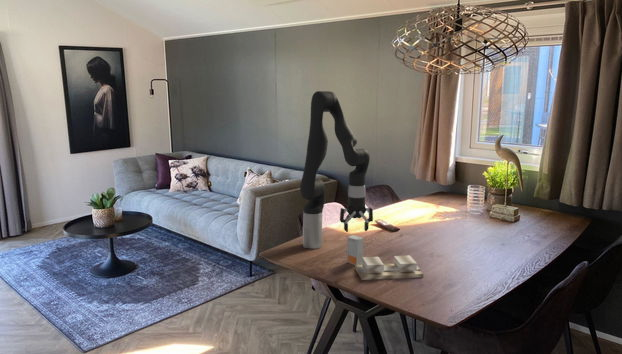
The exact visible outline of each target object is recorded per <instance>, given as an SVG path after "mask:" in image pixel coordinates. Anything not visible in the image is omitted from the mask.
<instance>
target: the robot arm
mask: <svg viewBox="0 0 622 354" xmlns="http://www.w3.org/2000/svg"><path fill="white" fill-rule="evenodd" d="M324 113H329V114H330V115H331V117H332V118H333V120H334V134H335V137H336V138H337V140H338V142H339V144H340V146H341V149H342V153H343V157H344V160H345V162H346V164H347V165H348V166H350V167H355V168H354V169H353V170H351V171H350V172H349V174H348V188H347V208H343V207H341V208H340V212H339V221H340V223H342V224H343V230H344V231H345V232H346V233H349V223H350V222H349V221H351V220H352V219H363V220H364V225H363V227H364V228H363V229H364V231H365V232H368V230H369V223H371V222H374V213H373V212H374V211H373V208H372V207H371V206H368V207H366V195H367V193H366V190H367V189H366V175H367V172H368V168H369V164H370V154H369V151H368V150H367V149H365V148H356V149H355V146H356V145H357V143H358V140H357V138H356V135H355V134H354V133H353V131H352V130H351V127H350V126H349V124H348V121H347V119H346V116H345V114H344V111H343V109H342V105H341V103H340V100H339V98H338V96H337V94H336V92H335V93H334V92H333V91H329V90H328V91H326V90H323V91H322V90H321V91H320V90H319V91H315V92H314V93H313V94H312V97H311V102H310V122H309V132H308V139H307V145H306V157H305V162H304V169H303V173H302V178H301V181H300V182H301V183H300V187H299V189H300V190H299V193H300V195H301V197H302V198H303V200H305V201H307V203H305V205H303V210H302V211H303V213H302V214H303V218H302V220H303V222H302V223H303V224H302V246H303V248H304V249H311V250H312V249H313V250H315V249H320V248H322V246H323V209H324V206H325V199H326V196H325V195H326V186H325V183H324V181H323V180H322V179H320V178H317V174H318V171H319V168H320V167H321V165H322V163H323V162H324V160H325V158H326V156H327V150H328V144H329V140H328V135H327V133H326V131H325V128H324V125H323V121H324ZM366 212H367V213H368V218H367V217H366V216H365V213H366ZM346 213H348V214H346ZM345 215H346V217H345ZM344 217H345V218H344Z"/></svg>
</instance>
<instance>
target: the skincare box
mask: <svg viewBox="0 0 622 354" xmlns="http://www.w3.org/2000/svg"><path fill="white" fill-rule="evenodd" d="M346 252H347V253H346V263H347V264H348V263H349V264H351V265H354V266H356V265H362V257H364V237H361V236H357V235H355V234H354V235H353V234H352V235H349V236H348V237H347V248H346Z"/></svg>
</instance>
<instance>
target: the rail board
mask: <svg viewBox="0 0 622 354" xmlns="http://www.w3.org/2000/svg"><path fill="white" fill-rule="evenodd" d="M355 270H356V272H357V273H358V275H359V278H360V280H362V281H365V280H369V281H370V280H387V279H388V280H389V279H391V280H392V279H410V278H424V272H423V271H421V268H420V266H419V265H418V263H417V261H416V260H414V258H413V257H412V256H411V255H393V263H383V261H382V259H381V258H380V257H379V256H363V257H362V264H360V265H355Z"/></svg>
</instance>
